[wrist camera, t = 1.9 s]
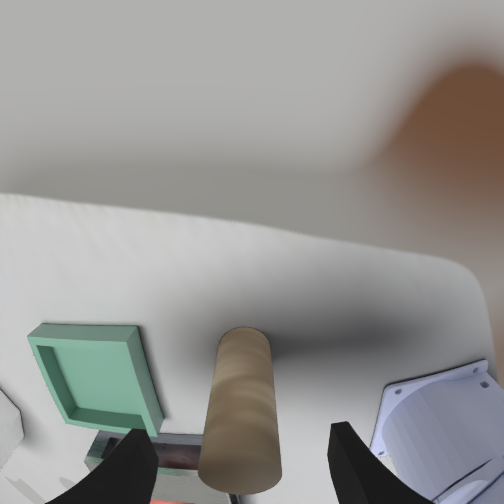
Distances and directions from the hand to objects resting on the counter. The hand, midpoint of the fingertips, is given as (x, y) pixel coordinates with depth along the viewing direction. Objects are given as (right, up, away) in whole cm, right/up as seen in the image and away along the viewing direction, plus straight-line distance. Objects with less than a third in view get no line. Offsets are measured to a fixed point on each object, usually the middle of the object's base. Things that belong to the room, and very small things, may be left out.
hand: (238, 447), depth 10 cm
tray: (-10, -1, +8) cm, 13 cm away
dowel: (0, +2, +7) cm, 8 cm away
